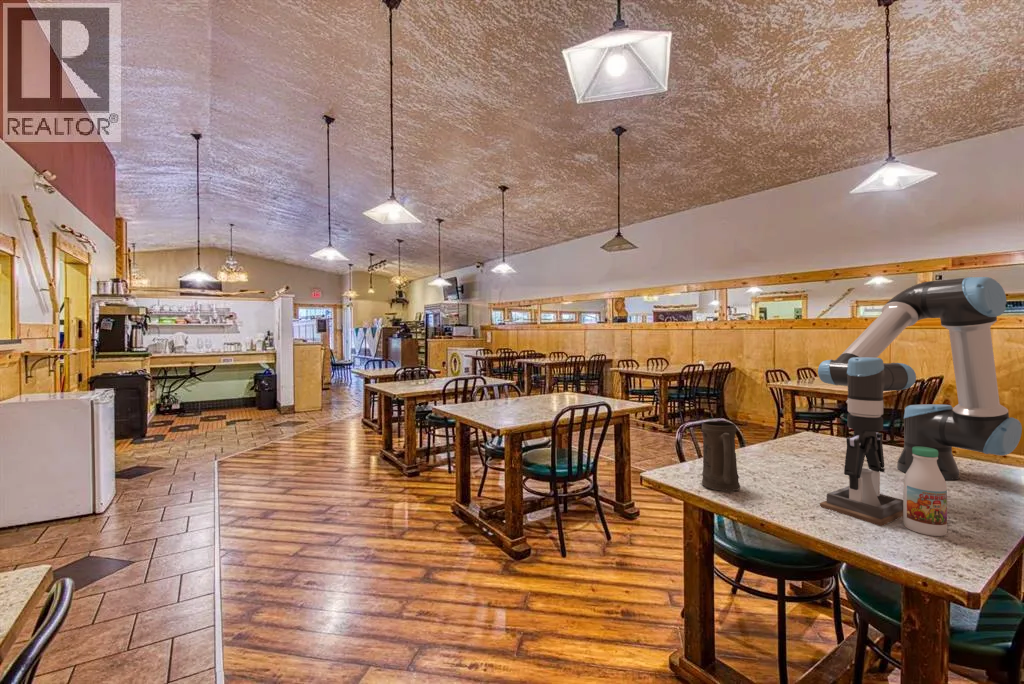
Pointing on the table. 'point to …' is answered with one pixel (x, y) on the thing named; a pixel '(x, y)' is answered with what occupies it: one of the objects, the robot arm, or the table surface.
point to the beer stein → (719, 456)
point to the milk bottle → (925, 494)
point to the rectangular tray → (865, 507)
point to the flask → (868, 489)
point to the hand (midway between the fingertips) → (864, 497)
